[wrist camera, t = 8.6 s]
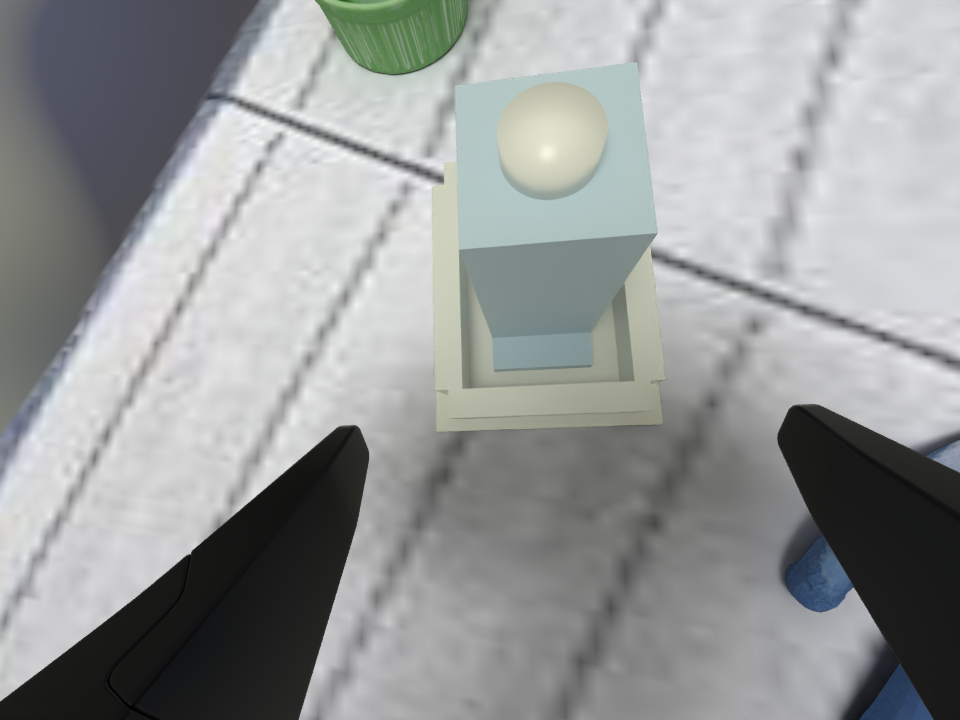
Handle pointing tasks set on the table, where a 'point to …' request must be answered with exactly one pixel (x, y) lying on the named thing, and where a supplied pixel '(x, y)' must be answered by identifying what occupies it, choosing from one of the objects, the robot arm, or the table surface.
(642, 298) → the pocket tray
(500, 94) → the block
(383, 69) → the ramekin
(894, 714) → the pair of gloves
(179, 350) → the table surface
